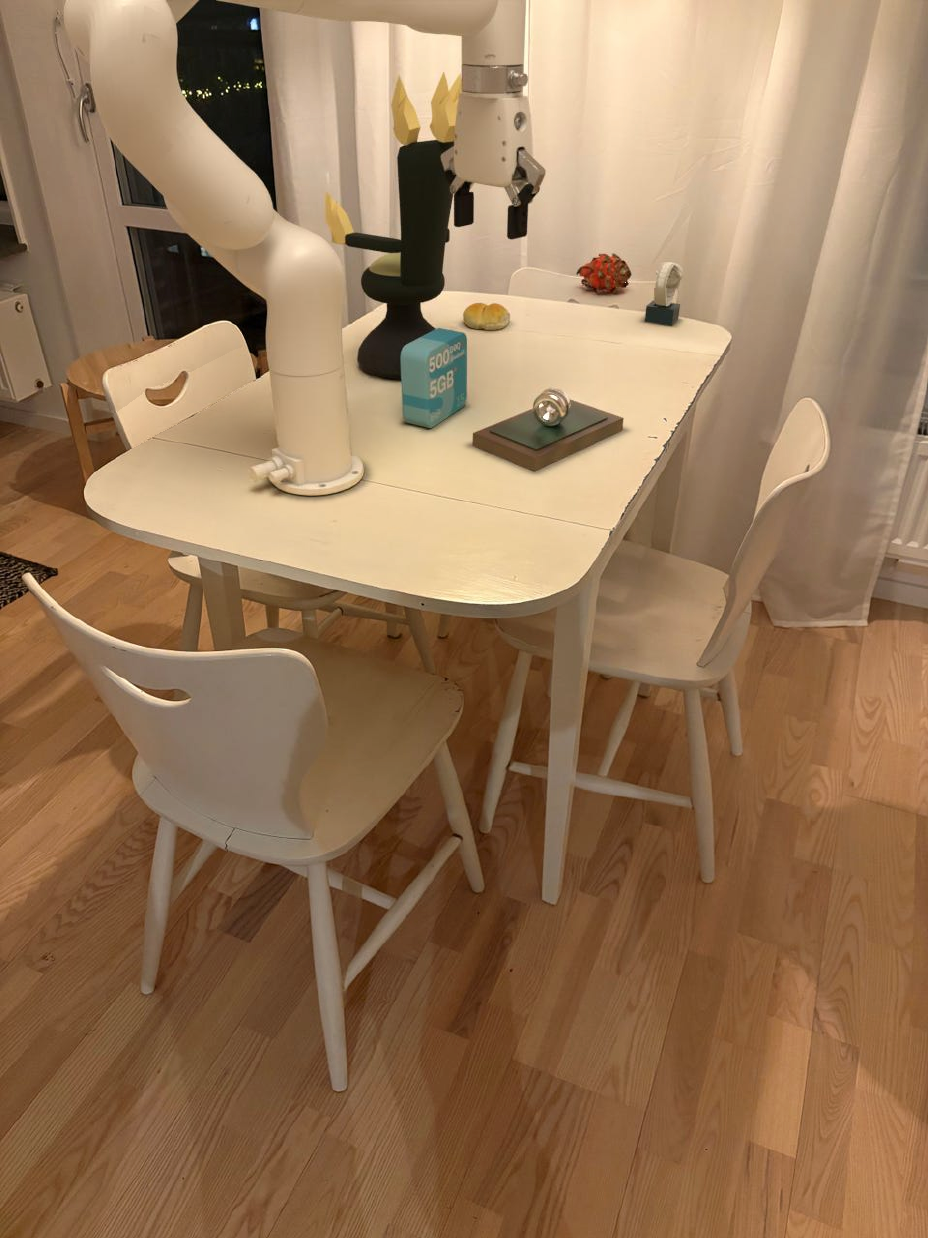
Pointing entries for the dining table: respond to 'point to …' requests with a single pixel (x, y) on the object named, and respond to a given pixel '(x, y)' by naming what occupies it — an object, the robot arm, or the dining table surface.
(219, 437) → the dining table surface
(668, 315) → the watch
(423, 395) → the data package
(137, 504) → the dining table surface
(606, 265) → the dragon fruit
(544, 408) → the metal grooved wheel
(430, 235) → the candelabra
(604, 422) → the desk pad
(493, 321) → the bread roll
